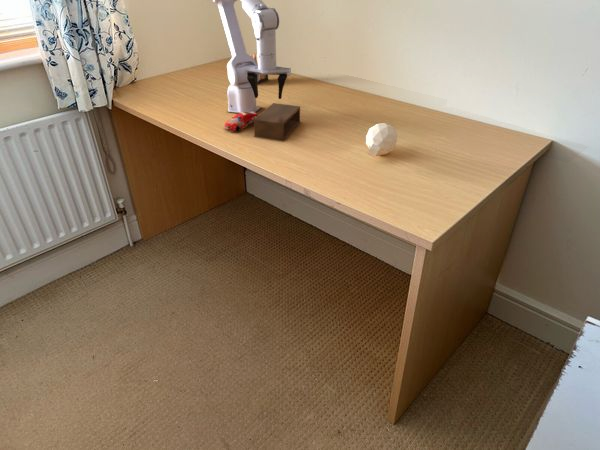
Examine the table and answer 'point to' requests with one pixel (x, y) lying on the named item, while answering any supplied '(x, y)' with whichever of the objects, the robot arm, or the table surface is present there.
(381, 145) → the white faceted rounded lump
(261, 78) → the ammunition clip
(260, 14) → the robot arm
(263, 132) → the shelf
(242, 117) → the race car
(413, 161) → the table surface
